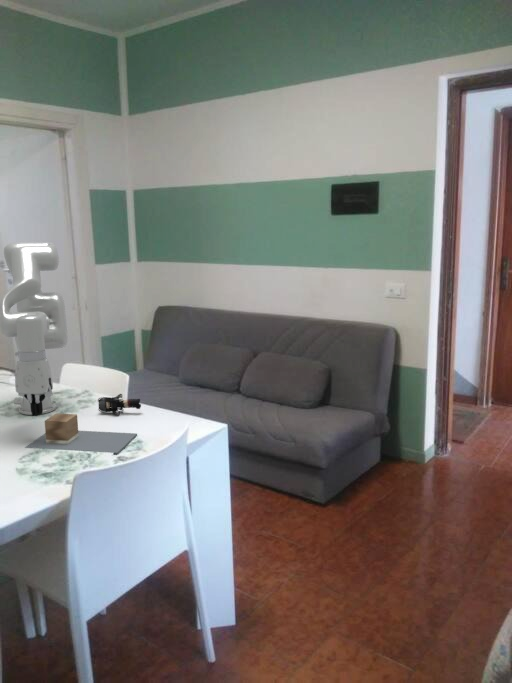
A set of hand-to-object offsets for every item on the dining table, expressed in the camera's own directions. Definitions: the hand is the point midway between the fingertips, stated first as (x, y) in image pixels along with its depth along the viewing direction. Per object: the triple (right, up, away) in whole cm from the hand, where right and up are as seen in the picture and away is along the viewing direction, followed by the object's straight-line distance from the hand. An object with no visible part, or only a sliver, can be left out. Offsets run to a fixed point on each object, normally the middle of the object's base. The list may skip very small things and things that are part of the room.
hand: (37, 414), depth 176 cm
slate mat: (+14, -8, 0) cm, 16 cm away
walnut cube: (+8, -8, +1) cm, 11 cm away
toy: (+19, -3, +27) cm, 33 cm away
